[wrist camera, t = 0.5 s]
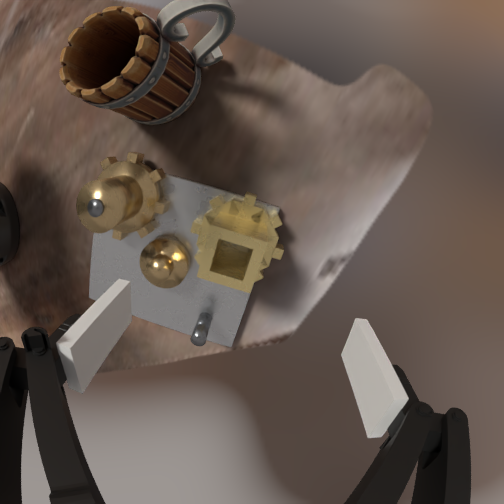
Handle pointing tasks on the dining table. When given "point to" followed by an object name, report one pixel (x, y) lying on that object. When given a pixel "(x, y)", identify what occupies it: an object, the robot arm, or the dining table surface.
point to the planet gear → (236, 241)
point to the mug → (142, 59)
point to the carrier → (158, 248)
